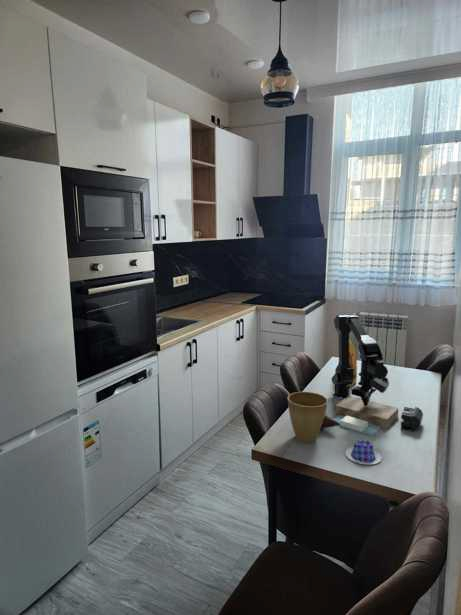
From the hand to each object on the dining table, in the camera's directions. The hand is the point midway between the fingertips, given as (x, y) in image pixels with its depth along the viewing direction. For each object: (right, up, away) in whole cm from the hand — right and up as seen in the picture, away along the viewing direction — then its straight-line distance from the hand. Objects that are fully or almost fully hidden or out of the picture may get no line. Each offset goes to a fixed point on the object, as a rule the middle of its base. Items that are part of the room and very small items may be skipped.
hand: (365, 405), depth 173 cm
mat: (-7, -6, -8) cm, 12 cm away
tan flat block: (+1, -4, +1) cm, 5 cm away
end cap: (+16, -6, -9) cm, 19 cm away
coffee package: (+4, +2, +41) cm, 42 cm away
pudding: (-11, -11, -31) cm, 35 cm away
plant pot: (-29, -8, -18) cm, 35 cm away
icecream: (-22, -7, -11) cm, 25 cm away
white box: (-8, -4, -9) cm, 13 cm away
